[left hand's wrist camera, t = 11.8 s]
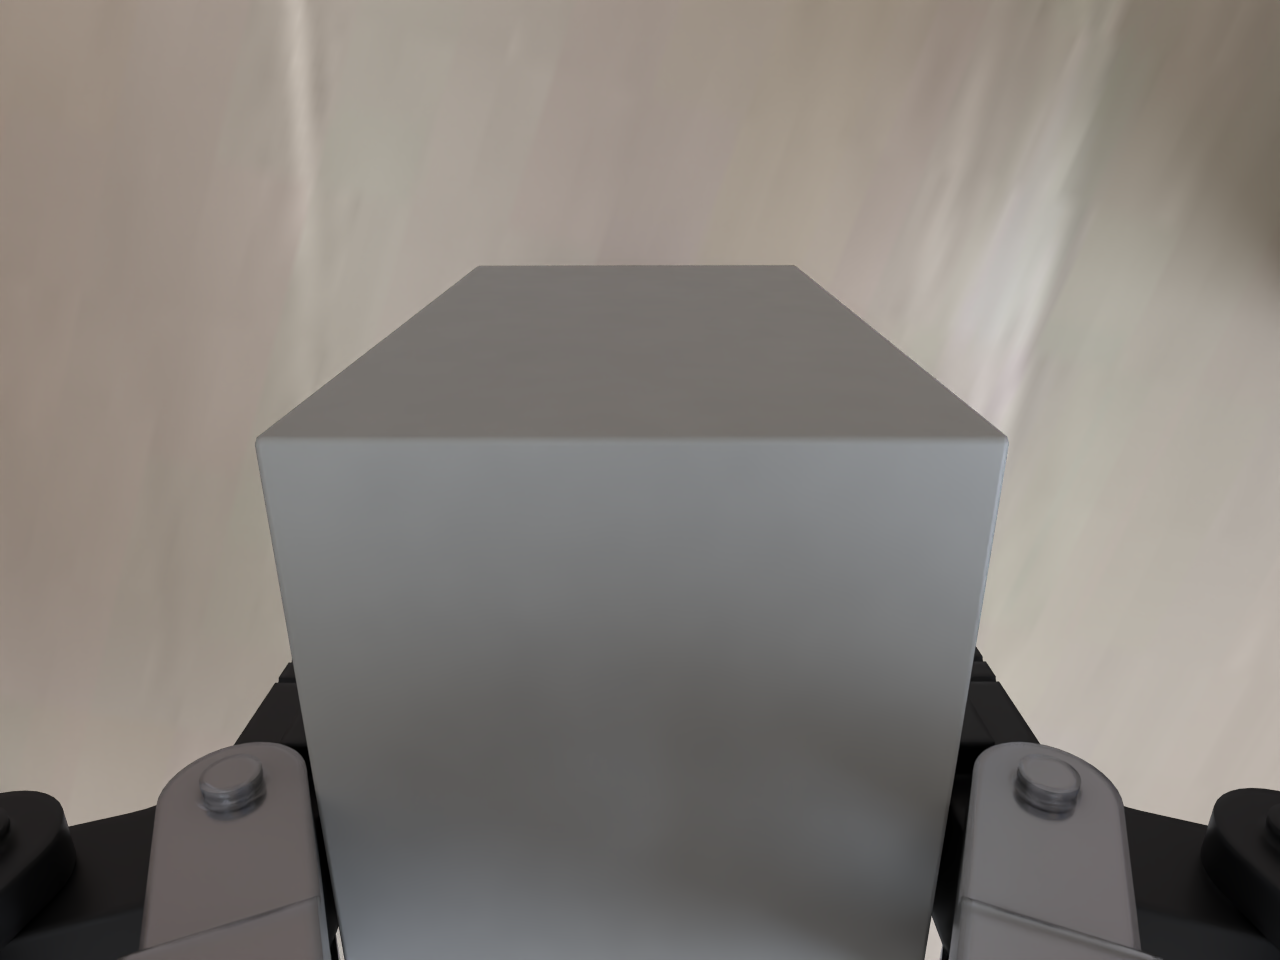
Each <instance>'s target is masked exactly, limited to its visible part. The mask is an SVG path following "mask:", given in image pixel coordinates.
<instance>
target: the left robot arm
mask: <svg viewBox="0 0 1280 960" xmlns="http://www.w3.org/2000/svg"><path fill="white" fill-rule="evenodd" d="M932 918H933V920H934V923H935V926H936V928H937V931H938V934H939V936H940V939H941V942H942V949H941V955H940V960H1280V791H1275V790H1269V789H1260V788H1245V789H1237V790H1233V791H1230V792H1228V793H1225V794H1223V795H1222V796H1221V797H1220V798H1219V799H1218V800H1217V801H1216V803H1215V805H1214V808H1213V811H1212V815H1211V818H1210V821H1209V824H1208V826H1207V825H1203V824H1198V823H1194V822H1189V821H1185V820H1180V819H1175V818H1171V817H1166V816H1162V815H1157V814H1153V813H1148V812H1144V811H1140V810H1136V809H1132V808H1128V807H1125V806H1124V805H1123V801H1122V798H1121V796H1120V794H1119V792H1118V790H1117V789H1116V787H1115V786H1114V785H1113V783H1112V782H1111V781H1110V780H1109V779H1108V778H1107V777H1106V776H1105V775H1104V774H1103V773H1102V772H1100V771H1099V770H1098V769H1096V768H1095V767H1094V766H1092V765H1091V764H1089V763H1087V762H1086V761H1084V760H1083V759H1081V758H1079V757H1077V756H1075V755H1073V754H1070V753H1068V752H1065V751H1063V750H1060V749H1057V748H1054V747H1050V746H1047V745H1042V744H1040V743H1039V742H1038V740H1037V739H1036V737H1035V735H1034V734H1033V732H1032V731H1031V729H1030V728H1029V726H1028V725H1027V723H1026V722H1025V720H1024V719H1023V717H1022V716H1021V714H1020V713H1019V711H1018V710H1017V708H1016V707H1015V705H1014V704H1013V702H1012V701H1011V699H1010V698H1009V696H1008V694H1007V693H1006V691H1005V690H1004V688H1003V687H1002V685H1001V684H1000V682H996V676H995V675H994V673H993V672H992V670H991V669H990V667H989V666H988V664H987V663H986V662H983V657H982V655H981V654H980V652H979V650H978V649H977V647H975V653H974V659H973V665H972V671H971V677H970V684H969V690H968V696H967V702H966V708H965V714H964V720H963V726H962V732H961V739H960V745H959V751H958V757H957V763H956V769H955V775H954V781H953V787H952V793H951V800H950V806H949V812H948V818H947V824H946V830H945V836H944V842H943V848H942V855H941V861H940V867H939V873H938V879H937V885H936V891H935V897H934V903H933V909H932ZM338 927H339V924H338V919H337V913H336V907H335V901H334V896H333V890H332V884H331V878H330V873H329V867H328V861H327V855H326V850H325V844H324V838H323V832H322V827H321V821H320V815H319V809H318V804H317V798H316V792H315V786H314V781H313V775H312V769H311V763H310V758H309V752H308V746H307V740H306V735H305V729H304V723H303V718H302V712H301V706H300V700H299V695H298V689H297V683H296V677H295V672H294V666H293V660H292V663H288V665H287V666H286V668H285V669H284V671H283V672H282V674H281V675H280V677H279V682H278V683H275V684H274V686H273V687H272V689H271V690H270V692H269V693H268V695H267V696H266V698H265V699H264V701H263V702H262V704H261V705H260V707H259V708H258V710H257V711H256V713H255V714H254V716H253V717H252V719H251V720H250V722H249V723H248V725H247V726H246V728H245V729H244V731H243V732H242V734H241V735H240V736H239V738H238V739H237V741H236V742H235V744H234V745H233V746H230V747H226V748H223V749H220V750H217V751H215V752H212V753H210V754H207V755H205V756H203V757H201V758H199V759H197V760H196V761H194V762H193V763H191V764H189V765H188V766H186V767H185V768H184V769H182V770H181V771H180V772H178V773H177V774H176V775H175V776H174V777H173V778H172V779H171V780H170V781H169V782H168V783H167V785H166V786H165V787H164V789H163V790H162V792H161V794H160V796H159V798H158V801H157V805H156V806H153V807H150V808H147V809H144V810H140V811H136V812H132V813H128V814H124V815H119V816H115V817H110V818H106V819H101V820H97V821H92V822H87V823H83V824H78V825H74V826H69V827H68V824H67V821H66V818H65V815H64V811H63V808H62V806H61V804H60V802H58V801H57V800H56V799H55V798H54V797H52V796H50V795H48V794H45V793H41V792H37V791H12V792H5V793H0V960H340V955H339V949H338V943H337V938H336V932H337V929H338Z"/></svg>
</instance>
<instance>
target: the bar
mask: <svg viewBox="0 0 1280 960" xmlns="http://www.w3.org/2000/svg"><path fill="white" fill-rule="evenodd" d="M1008 445H1009V442H1008V438H1007V436H1006V435H1004V434H1003V433H1002V432H1001V431H1000V430H998V429H997V428H996V427H995V426H993V425H992V424H991V423H990V422H988V421H987V420H986V419H985V418H983V417H982V416H981V415H980V414H978V413H977V412H976V411H975V410H974V409H972V408H971V407H970V406H969V405H967V404H966V403H965V402H964V401H962V400H961V399H960V398H959V397H957V396H956V395H955V394H954V393H952V392H951V391H950V390H949V389H947V388H946V387H945V386H944V385H943V384H941V383H940V382H939V381H938V380H936V379H935V378H934V377H933V376H931V375H930V374H929V373H928V372H926V371H925V370H924V369H923V368H921V367H920V366H919V365H918V364H916V363H915V362H914V361H913V360H912V359H910V358H909V357H908V356H907V355H905V354H904V353H903V352H902V351H900V350H899V349H898V348H897V347H895V346H894V345H893V344H892V343H890V342H889V341H888V340H887V339H886V338H884V337H883V336H882V335H881V334H879V333H878V332H877V331H876V330H874V329H873V328H872V327H871V326H869V325H868V324H867V323H866V322H864V321H863V320H862V319H861V318H859V317H858V316H857V315H856V314H855V313H853V312H852V311H851V310H850V309H848V308H847V307H846V306H845V305H843V304H842V303H841V302H840V301H838V300H837V299H836V298H835V297H833V296H832V295H831V294H830V293H828V292H827V291H826V290H825V289H824V288H822V287H821V286H820V285H819V284H817V283H816V282H815V281H814V280H812V279H811V278H810V277H809V276H807V275H806V274H805V273H804V272H802V271H801V270H800V269H799V268H798V267H796V266H794V265H732V266H478V267H476V268H475V269H474V270H472V271H471V272H470V273H469V274H467V275H466V276H465V277H463V278H462V279H461V280H459V281H458V282H457V283H456V284H454V285H453V286H452V287H450V288H449V289H448V290H447V291H445V292H444V293H443V294H441V295H440V296H439V297H438V298H436V299H435V300H434V301H432V302H431V303H430V304H429V305H427V306H426V307H425V308H423V309H422V310H421V311H419V312H418V313H417V314H416V315H414V316H413V317H412V318H410V319H409V320H408V321H407V322H405V323H404V324H403V325H401V326H400V327H399V328H398V329H396V330H395V331H394V332H392V333H391V334H390V335H388V336H387V337H386V338H385V339H383V340H382V341H381V342H379V343H378V344H377V345H376V346H374V347H373V348H372V349H370V350H369V351H368V352H367V353H365V354H364V355H363V356H361V357H360V358H359V359H358V360H356V361H355V362H354V363H352V364H351V365H350V366H348V367H347V368H346V369H345V370H343V371H342V372H341V373H339V374H338V375H337V376H336V377H334V378H333V379H332V380H330V381H329V382H328V383H327V384H325V385H324V386H323V387H321V388H320V389H319V390H317V391H316V392H315V393H314V394H312V395H311V396H310V397H308V398H307V399H306V400H305V401H303V402H302V403H301V404H299V405H298V406H297V407H296V408H294V409H293V410H292V411H290V412H289V413H288V414H287V415H285V416H284V417H283V418H281V419H280V420H279V421H277V422H276V423H275V424H274V425H272V426H271V427H270V428H268V429H267V430H266V431H265V432H263V433H262V434H261V435H259V436H258V437H257V439H256V442H255V447H256V453H257V459H258V465H259V470H260V476H261V482H262V488H263V493H264V499H265V505H266V511H267V516H268V522H269V528H270V534H271V539H272V545H273V551H274V557H275V562H276V568H277V574H278V580H279V585H280V591H281V597H282V603H283V608H284V614H285V620H286V626H287V631H288V637H289V643H290V649H291V654H292V660H293V666H294V672H295V677H296V683H297V689H298V695H299V700H300V706H301V712H302V718H303V723H304V729H305V735H306V740H307V746H308V752H309V758H310V763H311V769H312V775H313V781H314V786H315V792H316V798H317V804H318V809H319V815H320V821H321V827H322V832H323V838H324V844H325V850H326V855H327V861H328V867H329V873H330V878H331V884H332V890H333V896H334V901H335V907H336V913H337V919H338V924H339V930H340V936H341V942H342V947H343V953H344V959H345V960H924V958H925V952H926V946H927V940H928V934H929V928H930V922H931V916H932V909H933V903H934V897H935V891H936V885H937V879H938V873H939V867H940V861H941V855H942V848H943V842H944V836H945V830H946V824H947V818H948V812H949V806H950V800H951V793H952V787H953V781H954V775H955V769H956V763H957V757H958V751H959V745H960V739H961V732H962V726H963V720H964V714H965V708H966V702H967V696H968V690H969V684H970V677H971V671H972V665H973V659H974V653H975V647H976V641H977V635H978V629H979V623H980V616H981V610H982V604H983V598H984V592H985V586H986V580H987V574H988V568H989V561H990V555H991V549H992V543H993V537H994V531H995V525H996V519H997V513H998V507H999V500H1000V494H1001V488H1002V482H1003V476H1004V470H1005V464H1006V458H1007V452H1008Z"/></svg>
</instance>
